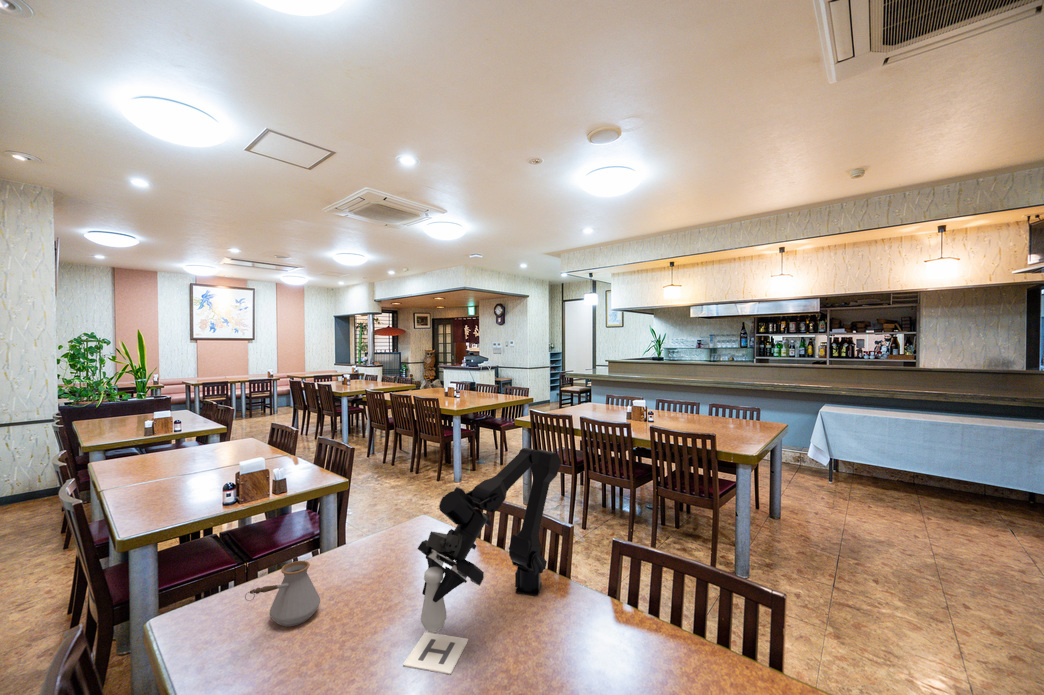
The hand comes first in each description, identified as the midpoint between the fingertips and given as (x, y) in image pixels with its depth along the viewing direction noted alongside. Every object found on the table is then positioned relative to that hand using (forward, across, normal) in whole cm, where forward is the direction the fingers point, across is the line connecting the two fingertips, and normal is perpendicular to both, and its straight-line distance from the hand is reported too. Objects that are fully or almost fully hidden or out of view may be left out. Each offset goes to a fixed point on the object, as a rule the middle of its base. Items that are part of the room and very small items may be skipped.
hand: (428, 598), depth 98 cm
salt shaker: (+4, 0, +6) cm, 7 cm away
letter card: (+8, +2, +10) cm, 12 cm away
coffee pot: (+22, -33, -5) cm, 40 cm away
